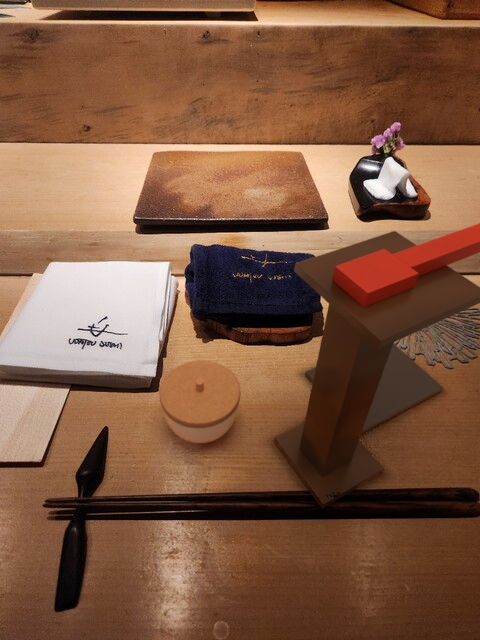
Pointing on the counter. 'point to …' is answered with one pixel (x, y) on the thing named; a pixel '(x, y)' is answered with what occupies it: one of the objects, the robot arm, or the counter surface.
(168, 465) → the counter surface
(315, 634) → the counter surface
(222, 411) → the trinket box
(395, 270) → the red block
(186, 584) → the counter surface
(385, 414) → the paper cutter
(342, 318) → the pedestal stand
